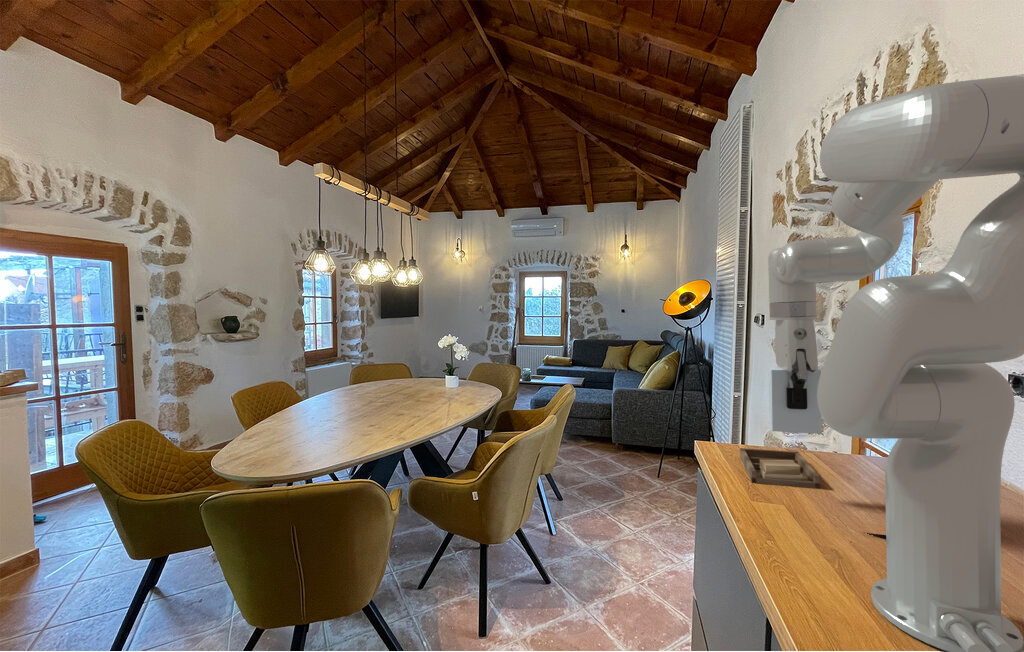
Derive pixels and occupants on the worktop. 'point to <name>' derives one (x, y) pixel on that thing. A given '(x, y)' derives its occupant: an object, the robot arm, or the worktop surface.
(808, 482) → the rack
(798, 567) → the worktop surface
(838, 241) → the robot arm
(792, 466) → the offcut top
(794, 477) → the offcut low
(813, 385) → the board
